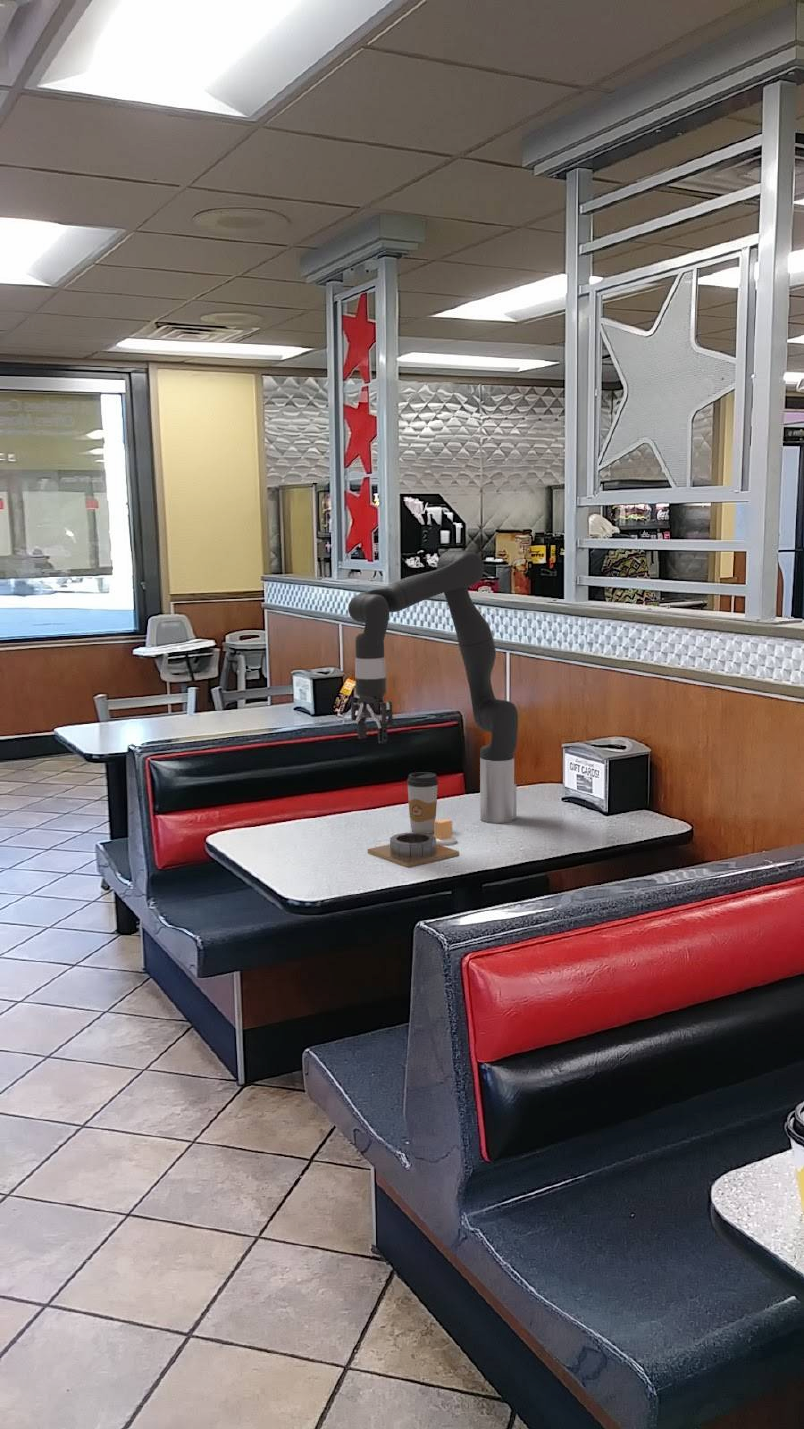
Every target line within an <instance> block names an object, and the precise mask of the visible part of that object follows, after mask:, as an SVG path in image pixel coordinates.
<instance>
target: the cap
mask: <svg viewBox="0 0 804 1429" xmlns="http://www.w3.org/2000/svg"><path fill="white" fill-rule="evenodd" d="M433 836H435V838H436V844H438V845H441V846H450V845H453V844H456V842H457V838H456V836H455V835H453V820H451V819H450V818H449V819H447V818H443V819H439V820H435V821H434V831H433Z"/></svg>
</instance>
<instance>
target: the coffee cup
mask: <svg viewBox="0 0 804 1429" xmlns="http://www.w3.org/2000/svg"><path fill="white" fill-rule="evenodd" d="M406 781H407V782H406V784H407V785H406V786H407V795H408V796H407V797H408V800H407V801H408V812H409V821H410V822H409V823H410V829H411V831H412V833H413V832H415V833H416V832H417V833H426V834H429V833H434V821H436V817H437V805H438V803H437V802H438V799H437V797H438V785H439V782H438V781H439V778H438V777H437V774H436V773H433V772H427V771H426V772H423V771H422V772H421V771H419V772H412V773H409V774H408V778H407V779H406Z"/></svg>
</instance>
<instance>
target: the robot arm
mask: <svg viewBox="0 0 804 1429" xmlns="http://www.w3.org/2000/svg"><path fill="white" fill-rule="evenodd" d="M484 568H485V566H484V563H483V559H482V557H480V556H479V555H478V554H477V553H475V552H473V551H468V550H467V551H465V550H463V551H462V550H456V551H454V550H453V551H450V550H449V551H446V552H443V553H441V555H440V556H439V557H438V561H437V564H436V569H435V570H431V571H427V572H423V573H418V574H413V575H410V576H406V577H404V578H401V579H399V580H396V581H393V582H392V583H389V584H388V585H385V586H382V587H379V588H374V589H371V590H366V591H362V592H360V593H358V594H356V595H355V596H354V597H352V598H351V599H350V601H349V604H348V607H347V608H348V613H349V616H350V618H351V619H353V620H354V621H356V622H358V623H362V624H364V630H363V632H362V633H359V634H358V635H357V636H356V637H355V642H354V643H355V645H354V646H355V664H354V665H355V667H354V672H355V674H354V675H355V676H354V677H355V678H354V679H355V695H356V696H352V697H351V699H350V700H351V702H350V704H351V706H350V708H351V709H350V712H351V713H350V715H351V716H350V719H351V721H355V723H356V724H357V725H356V726H357V727H356V728H357V738H358V739H359V740H361V739H363V740H364V739H366V738H367V737H368V736H367V735H368V734H367V723H366V722H367V720H368V718H372V721H373V722H375V723H376V726H377V743H379V744H386V743H387V742H388V728H389V727H391V726H393V724H394V720H393V719H394V718H393V717H394V716H393V704H392V701H390V700H389V701H385V700H384V698H383V697H384V696H385V695H386V694H387V670H386V669H387V667H386V666H387V665H386V660H385V637H386V633H387V630H388V629H387V628H388V625H389V621H390V620H389V619H390V613H396V612H400V611H402V610H405V609H407V608H410V607H411V606H414V605H416V604H418V603H420V602H423V601H425V600H428V599H430V598H434V597H436V596H438V595H441V594H443V595H444V597H445V599H446V600H445V601H446V604H447V606H448V608H449V611H450V616H451V619H452V622H453V627H454V630H455V633H456V637H457V642H458V647H459V651H460V654H461V658H462V662H463V666H464V669H465V674H466V678H467V679H466V680H467V683H468V686H469V694H470V700H471V707H472V712H473V713H472V714H473V719H474V722H475V724H476V726H477V728H479V729H480V730H481V731H484V732H486V733H491V741H490V743H489V744H487V745H486V744H485V745H483V746H482V747H481V748H480V752H479V753H480V754H479V756H480V757H479V763H480V764H479V770H480V771H479V774H480V775H479V780H480V783H479V784H480V785H479V788H480V789H479V791H480V792H479V793H480V796H479V798H480V800H479V801H480V803H479V808H480V810H479V813H480V814H479V816H480V820H481V821H483V822H486V823H492V824H493V823H495V824H498V823H499V824H501V823H502V824H503V823H509V822H512V821H513V820H514V819H517V799H518V798H517V795H518V794H517V792H518V789H517V784H516V783H515V752H516V749H517V745H518V733H519V731H518V730H519V713H518V709H517V707H516V705H515V704H514V703H513V702H511V701H509V700H504V699H503V700H502V699H498V698H497V699H496V696H495V694H494V690H493V686H492V672H493V668H494V665H495V661H496V658H497V657H496V656H497V652H496V646H495V641H494V637H493V633H492V629H491V628H490V625H489V624H488V622H487V621H486V619H485V618H484V616H483V615H482V614H481V612H480V611H479V610H478V608H477V606H475V604H474V602H473V600H472V598H471V596H470V592H469V589H468V588H469V587H473V586H475V585H477V584H478V583H479V582H480V580H481V579H482V577H483V575H484V572H485V569H484ZM356 712H357V713H356ZM387 718H388V719H387Z"/></svg>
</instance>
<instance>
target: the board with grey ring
mask: <svg viewBox="0 0 804 1429" xmlns="http://www.w3.org/2000/svg"><path fill="white" fill-rule="evenodd" d="M389 841H390V842H389V844H386V845H385V844H383V845H380V846H376V847H375V846H374V847H371V848H367V854H369V855H373V856H374V857H378V858H381V859H383V860H386V861H388V862H391V863H394V864H396V865H399V866H403V867H404V868H411V867H416V866H419V865H424V864H429V863H433V862H437V861H441V860H442V861H443V860H445V859H450V858H453V857H457V856H458V857H459V856H460V850H457V849H453V848H449V847H447V846H445V845H438V844H436V838H435V836H434V834H429V833H417V832H416V833H415V832H413V831H412V832H402V833H397V834H394V835H392V836H391V837H389Z"/></svg>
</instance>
